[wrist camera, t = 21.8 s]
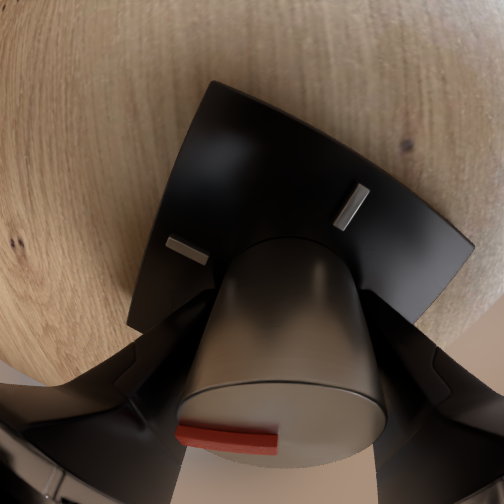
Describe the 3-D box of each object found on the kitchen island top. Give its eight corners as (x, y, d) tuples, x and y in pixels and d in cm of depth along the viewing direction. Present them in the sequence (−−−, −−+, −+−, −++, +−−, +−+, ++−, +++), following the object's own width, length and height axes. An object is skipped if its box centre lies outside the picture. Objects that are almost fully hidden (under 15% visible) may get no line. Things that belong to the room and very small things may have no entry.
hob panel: (321, 382, 13) (322, 408, 12) (139, 304, 12) (123, 327, 11) (457, 230, 9) (478, 249, 7) (223, 84, 8) (209, 78, 6)
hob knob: (360, 235, 8) (425, 385, 3) (345, 343, 10) (361, 474, 5) (213, 238, 9) (137, 381, 4) (230, 343, 11) (198, 469, 6)
